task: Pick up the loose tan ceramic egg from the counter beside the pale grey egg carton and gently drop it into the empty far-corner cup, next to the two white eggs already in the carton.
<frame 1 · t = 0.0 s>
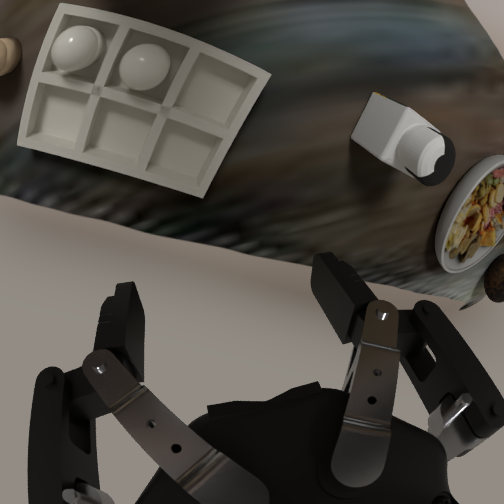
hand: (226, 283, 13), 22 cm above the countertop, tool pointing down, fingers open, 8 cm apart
white egg middle: (147, 64, 22), point 1 cm above the countertop, touching egg carton
egg carton: (134, 94, 25), on the countertop
tan egg: (6, 55, 16), on the countertop
bowl: (473, 207, 50), on the countertop
medicine bottle: (378, 124, 33), on the countertop
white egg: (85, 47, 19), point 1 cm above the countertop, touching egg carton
glass bottle: (493, 265, 73), on the countertop
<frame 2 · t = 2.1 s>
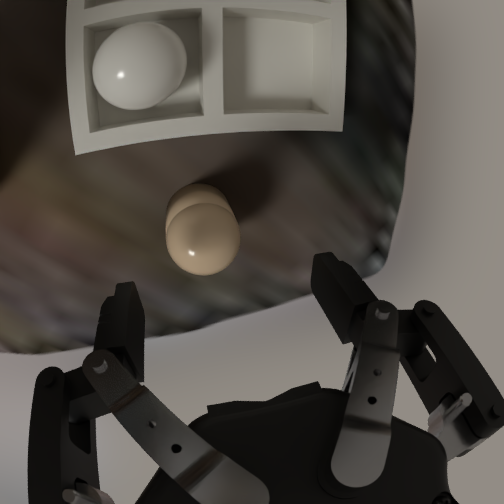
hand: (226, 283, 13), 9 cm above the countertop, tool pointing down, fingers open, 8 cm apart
tan egg: (197, 213, 20), on the countertop
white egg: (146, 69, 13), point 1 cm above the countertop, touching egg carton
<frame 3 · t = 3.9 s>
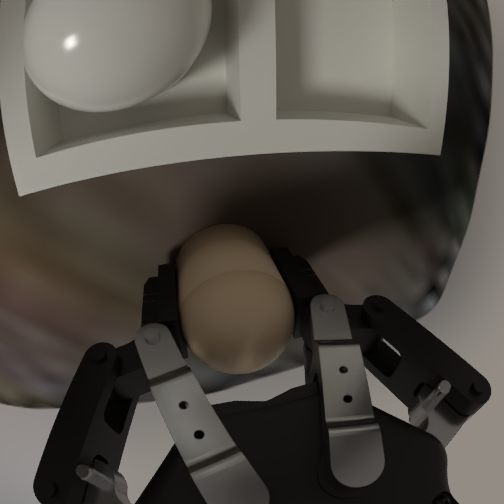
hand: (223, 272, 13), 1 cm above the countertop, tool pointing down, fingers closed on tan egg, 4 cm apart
tan egg: (222, 265, 14), on the countertop, touching gripper
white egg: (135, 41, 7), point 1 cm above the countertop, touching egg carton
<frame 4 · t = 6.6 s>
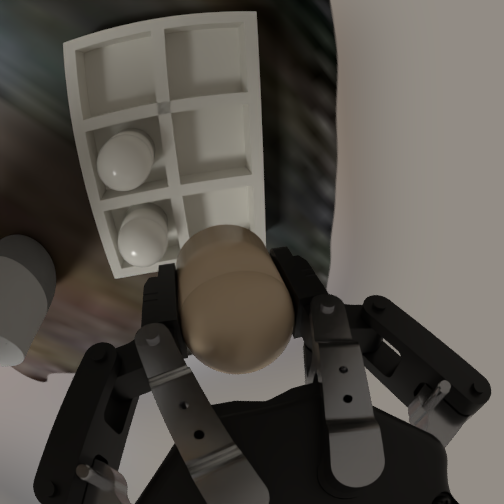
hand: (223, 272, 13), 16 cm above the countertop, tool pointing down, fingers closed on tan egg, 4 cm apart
white egg middle: (130, 152, 23), point 1 cm above the countertop, touching egg carton
egg carton: (170, 143, 24), on the countertop
tan egg: (222, 266, 14), point 15 cm above the countertop, touching gripper
smart speaker: (27, 261, 26), on the countertop
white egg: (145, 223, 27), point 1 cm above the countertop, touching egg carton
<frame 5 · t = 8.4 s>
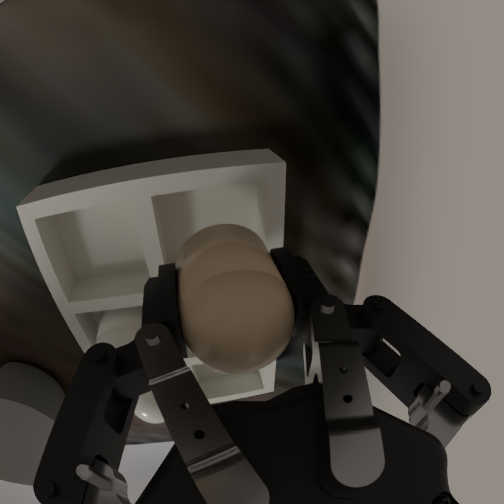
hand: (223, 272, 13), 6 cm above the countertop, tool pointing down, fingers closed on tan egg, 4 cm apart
white egg middle: (129, 316, 21), point 1 cm above the countertop, touching egg carton
egg carton: (172, 303, 22), on the countertop
tan egg: (222, 265, 14), point 6 cm above the countertop, touching gripper
smart speaker: (33, 377, 23), on the countertop
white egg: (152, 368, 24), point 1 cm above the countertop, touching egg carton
when the fingers open (4 cm above the countertop, at t = 9.7 s): tan egg drops 3 cm, resting on egg carton.
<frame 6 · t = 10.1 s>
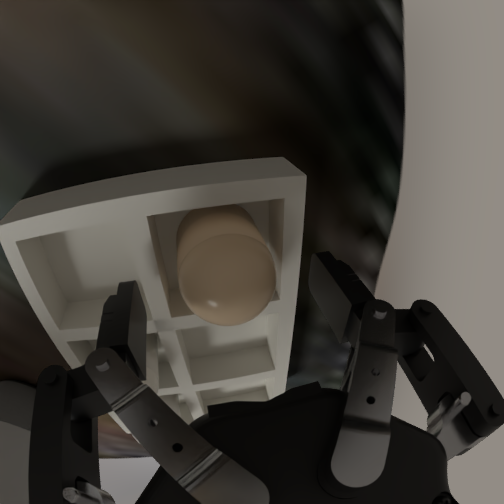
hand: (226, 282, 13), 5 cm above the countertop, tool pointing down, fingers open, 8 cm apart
white egg middle: (127, 340, 18), point 1 cm above the countertop, touching egg carton
egg carton: (174, 326, 20), on the countertop
tan egg: (216, 238, 16), point 1 cm above the countertop, touching egg carton
smart speaker: (29, 394, 21), on the countertop
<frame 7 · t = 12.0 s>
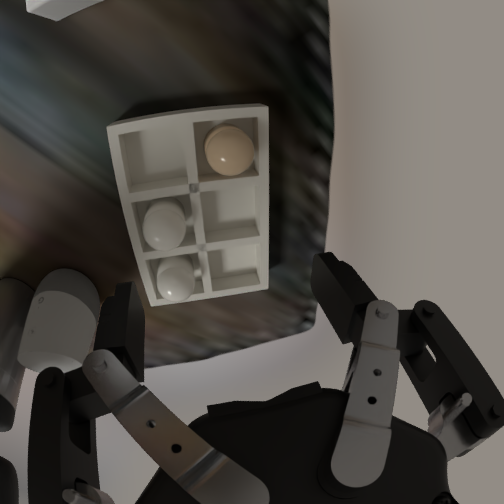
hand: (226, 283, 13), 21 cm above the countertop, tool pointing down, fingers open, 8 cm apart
white egg middle: (165, 214, 31), point 1 cm above the countertop, touching egg carton
egg carton: (196, 206, 32), on the countertop
tan egg: (225, 144, 28), point 1 cm above the countertop, touching egg carton
smart speaker: (72, 287, 35), on the countertop
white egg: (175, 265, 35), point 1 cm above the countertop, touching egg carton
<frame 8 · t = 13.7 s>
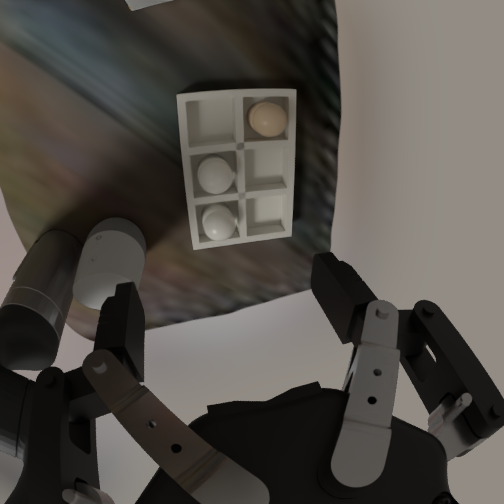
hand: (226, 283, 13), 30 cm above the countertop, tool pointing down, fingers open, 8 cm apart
white egg middle: (212, 169, 39), point 1 cm above the countertop, touching egg carton
egg carton: (236, 165, 40), on the countertop
tan egg: (262, 116, 37), point 1 cm above the countertop, touching egg carton
smart speaker: (118, 238, 42), on the countertop
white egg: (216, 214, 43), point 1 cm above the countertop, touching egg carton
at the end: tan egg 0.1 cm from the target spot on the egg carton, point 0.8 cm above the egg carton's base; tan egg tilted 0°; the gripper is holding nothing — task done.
